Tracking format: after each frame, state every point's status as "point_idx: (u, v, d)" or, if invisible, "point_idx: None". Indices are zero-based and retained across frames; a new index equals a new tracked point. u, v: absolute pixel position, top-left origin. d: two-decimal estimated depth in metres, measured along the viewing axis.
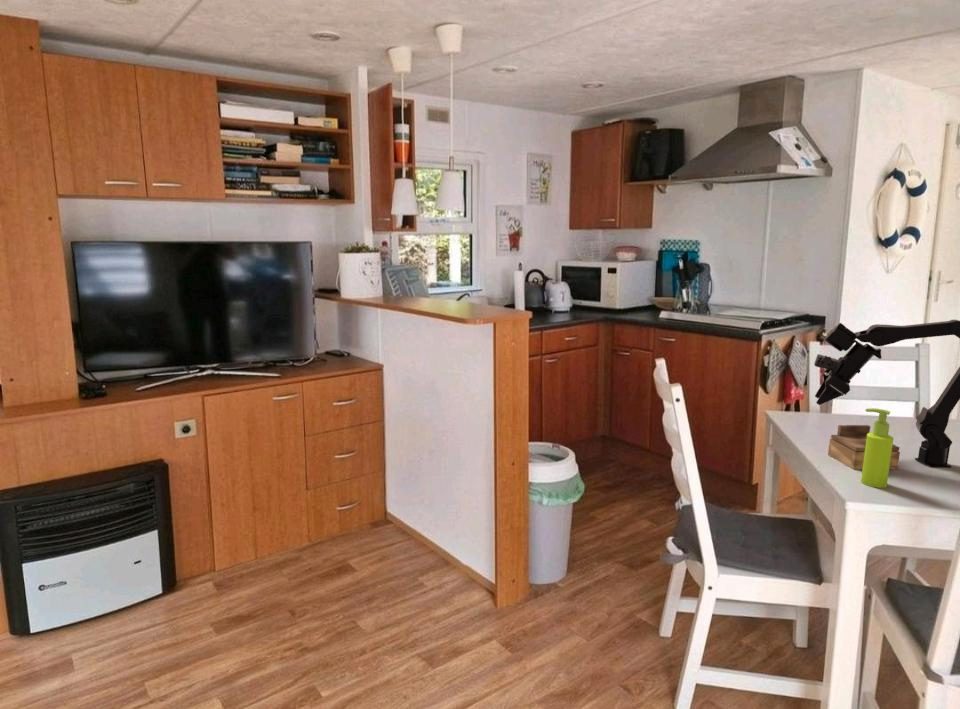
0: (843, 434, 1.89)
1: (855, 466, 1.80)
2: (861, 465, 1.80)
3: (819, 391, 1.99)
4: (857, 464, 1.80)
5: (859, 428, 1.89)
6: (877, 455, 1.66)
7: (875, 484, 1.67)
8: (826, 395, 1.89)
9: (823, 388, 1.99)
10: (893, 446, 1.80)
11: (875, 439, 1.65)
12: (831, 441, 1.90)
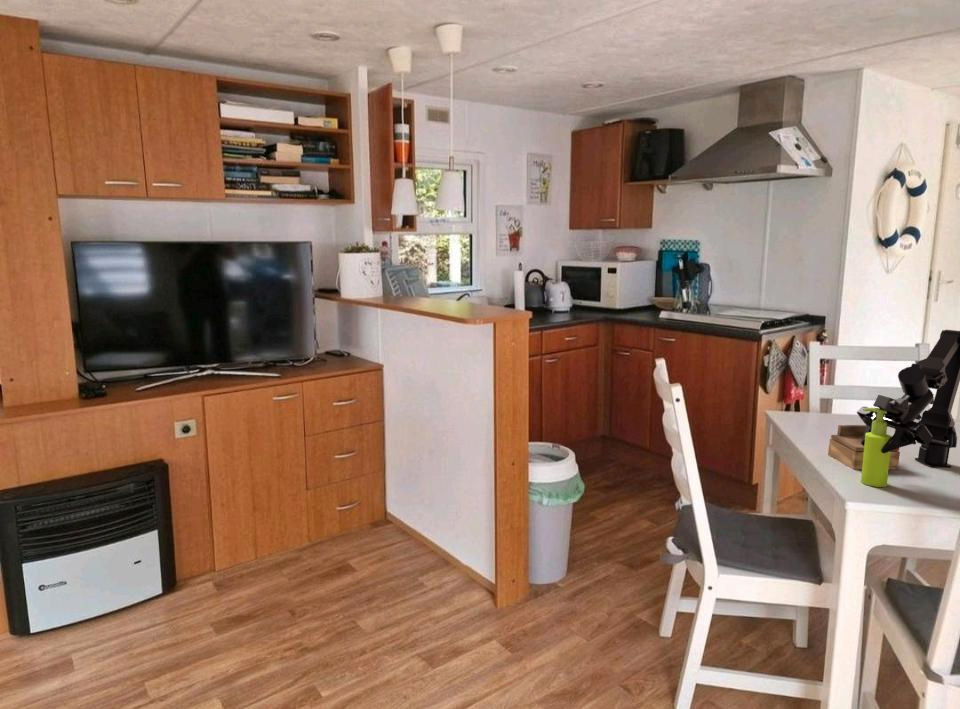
0: (843, 434, 1.89)
1: (855, 466, 1.80)
2: (861, 465, 1.80)
3: None
4: (857, 464, 1.80)
5: (859, 428, 1.89)
6: (876, 454, 1.66)
7: (875, 483, 1.67)
8: (895, 443, 1.64)
9: None
10: None
11: (873, 438, 1.66)
12: (831, 441, 1.90)
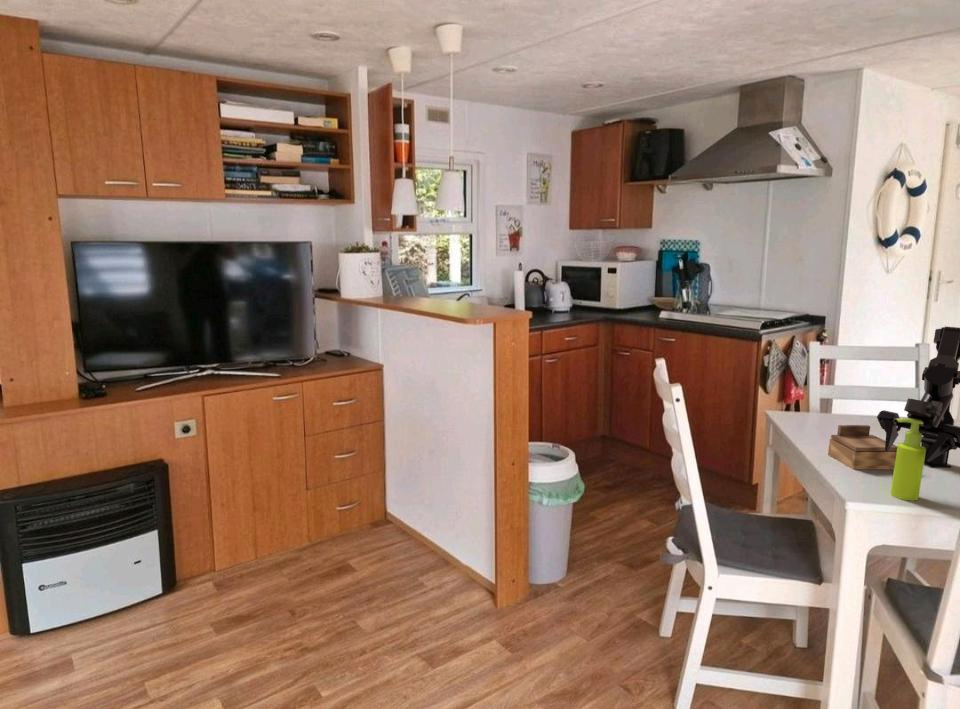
0: (843, 434, 1.89)
1: (855, 466, 1.80)
2: (861, 465, 1.80)
3: (889, 442, 1.62)
4: (857, 464, 1.80)
5: (859, 428, 1.89)
6: (913, 468, 1.57)
7: (910, 497, 1.58)
8: (938, 450, 1.55)
9: (890, 438, 1.63)
10: (893, 446, 1.80)
11: (911, 451, 1.57)
12: (831, 441, 1.90)
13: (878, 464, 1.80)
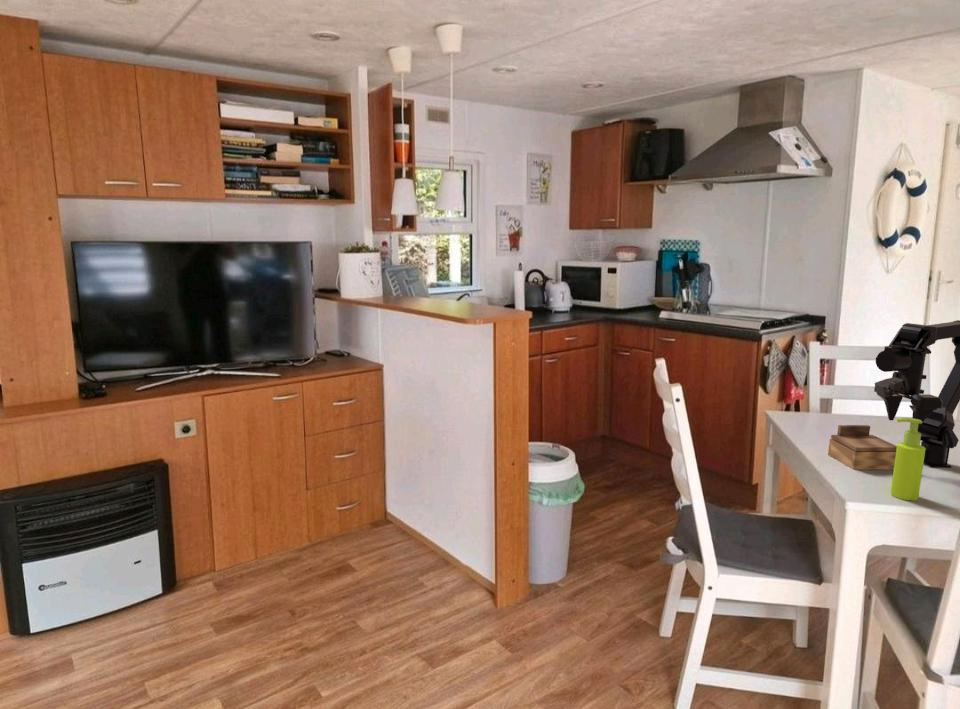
0: (843, 434, 1.89)
1: (855, 466, 1.80)
2: (861, 465, 1.80)
3: (890, 413, 1.82)
4: (857, 464, 1.80)
5: (859, 428, 1.89)
6: (912, 467, 1.57)
7: (910, 497, 1.58)
8: (919, 417, 1.72)
9: (891, 408, 1.82)
10: (893, 446, 1.80)
11: (911, 450, 1.57)
12: (831, 441, 1.90)
13: (878, 464, 1.80)
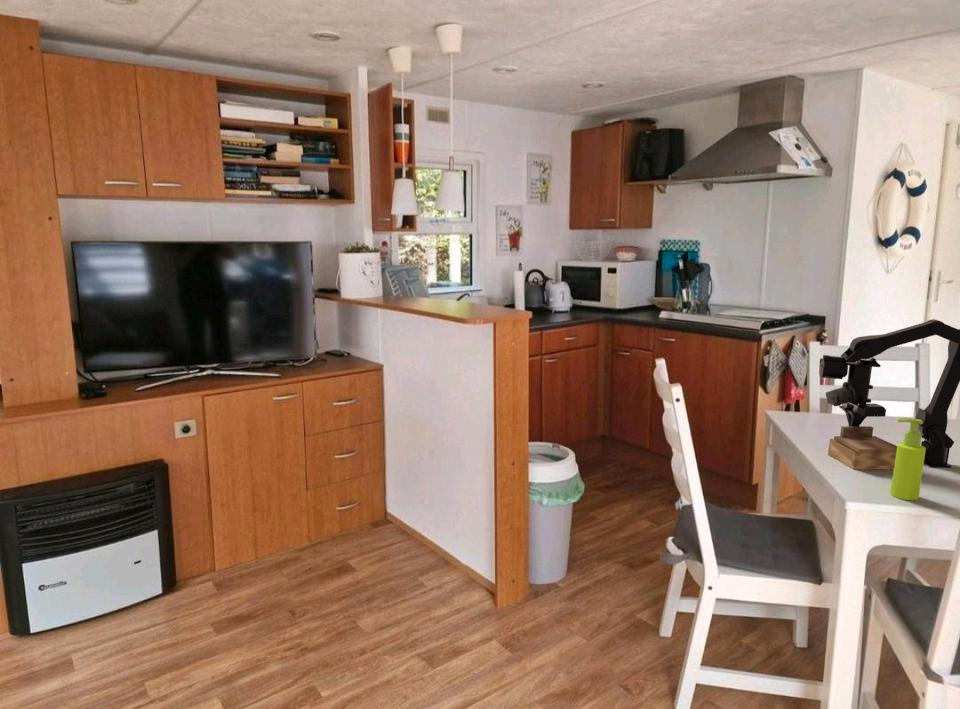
0: (846, 435, 1.88)
1: (855, 466, 1.80)
2: (861, 465, 1.80)
3: None
4: (857, 464, 1.80)
5: (862, 429, 1.88)
6: (913, 467, 1.57)
7: (910, 497, 1.58)
8: (856, 420, 1.88)
9: None
10: (896, 448, 1.79)
11: (911, 450, 1.57)
12: (831, 441, 1.90)
13: (878, 464, 1.80)
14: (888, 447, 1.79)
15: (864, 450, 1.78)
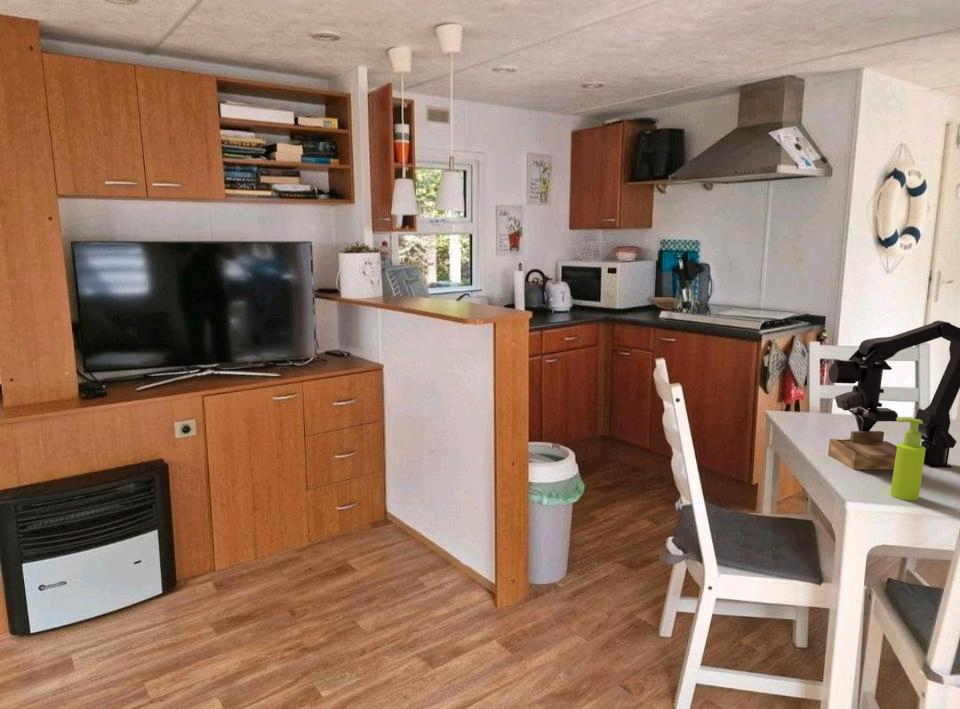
0: (856, 440, 1.83)
1: (855, 466, 1.80)
2: (861, 465, 1.80)
3: None
4: (857, 464, 1.80)
5: (873, 434, 1.83)
6: (913, 467, 1.57)
7: (910, 497, 1.58)
8: (867, 425, 1.84)
9: None
10: None
11: (911, 450, 1.57)
12: (831, 441, 1.90)
13: (878, 464, 1.80)
14: None
15: (875, 456, 1.73)
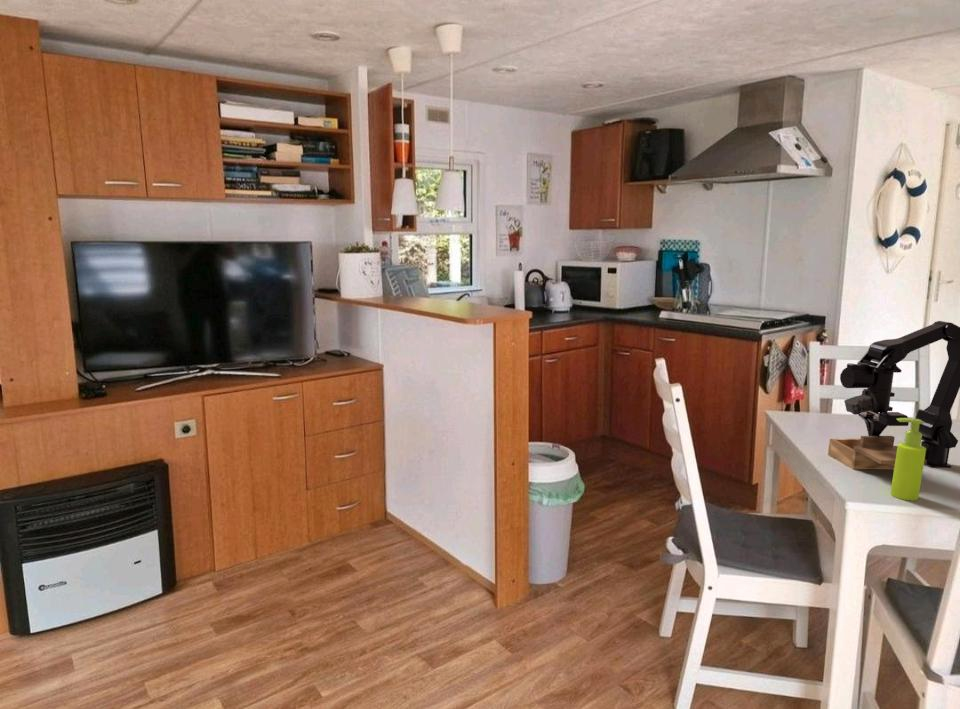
0: (866, 445, 1.79)
1: (855, 466, 1.80)
2: (861, 465, 1.80)
3: None
4: (857, 464, 1.80)
5: (883, 439, 1.79)
6: (913, 468, 1.57)
7: (911, 497, 1.58)
8: (877, 430, 1.80)
9: None
10: None
11: (911, 450, 1.57)
12: (831, 441, 1.90)
13: (878, 464, 1.80)
14: None
15: (886, 461, 1.69)
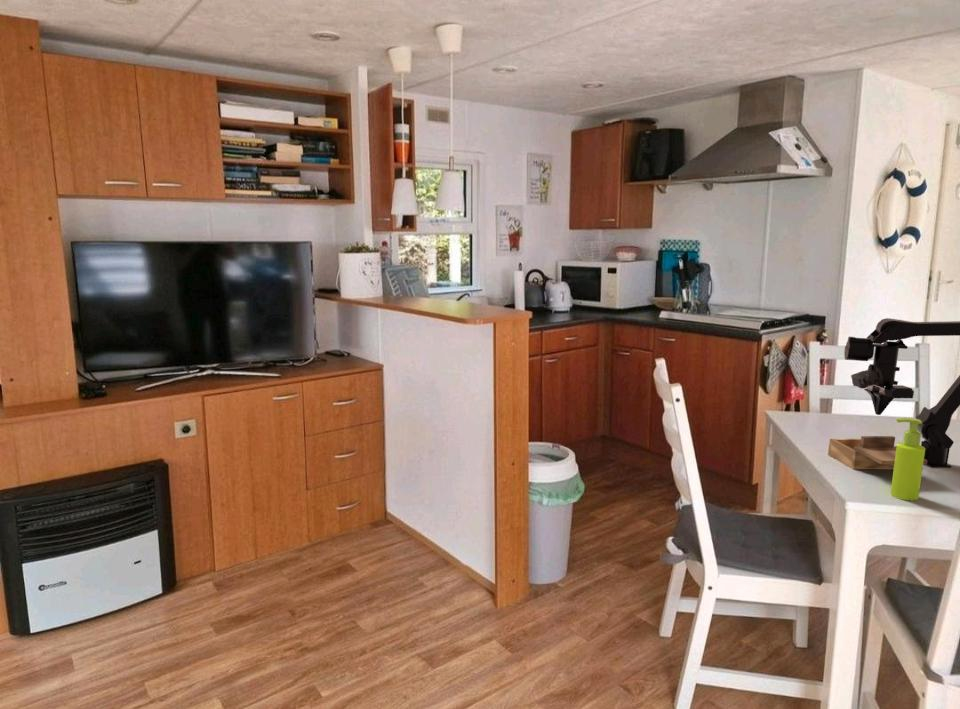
0: (866, 446, 1.79)
1: (855, 466, 1.80)
2: (861, 465, 1.80)
3: None
4: (857, 464, 1.80)
5: (883, 439, 1.79)
6: (912, 467, 1.57)
7: (911, 497, 1.58)
8: (882, 403, 1.86)
9: None
10: None
11: (910, 450, 1.57)
12: (831, 441, 1.90)
13: (878, 464, 1.80)
14: None
15: (887, 462, 1.69)
